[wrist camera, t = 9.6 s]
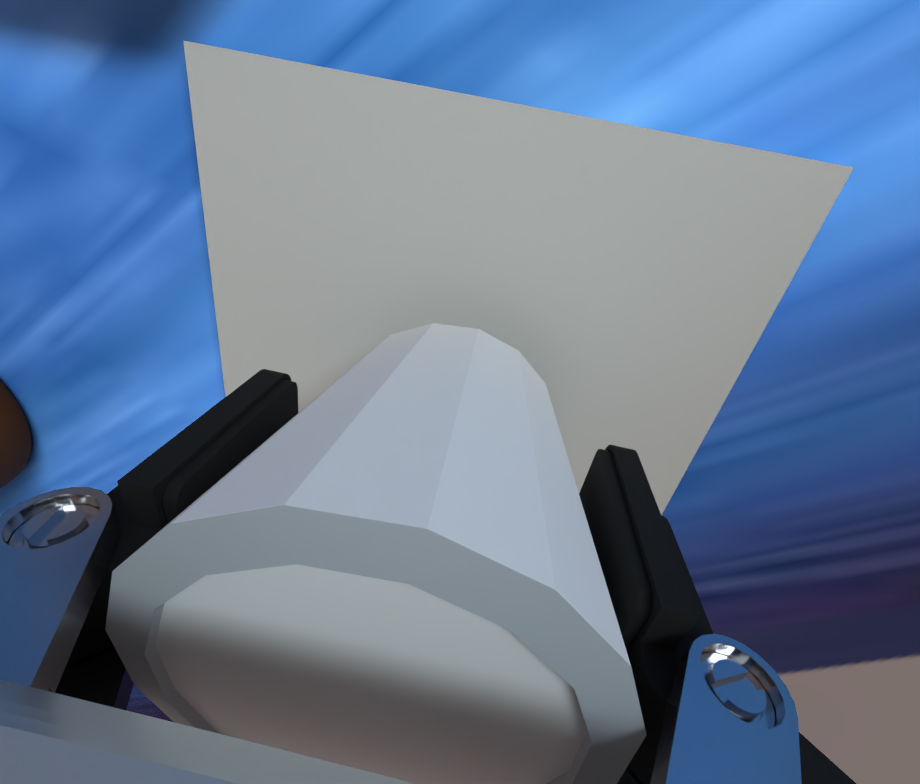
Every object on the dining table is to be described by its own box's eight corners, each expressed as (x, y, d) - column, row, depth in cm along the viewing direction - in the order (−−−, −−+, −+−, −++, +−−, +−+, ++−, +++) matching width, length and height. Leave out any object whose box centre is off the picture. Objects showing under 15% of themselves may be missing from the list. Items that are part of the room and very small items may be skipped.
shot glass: (466, 551, 14) (419, 864, 8) (283, 426, 12) (43, 687, 6) (638, 418, 11) (791, 763, 5) (420, 233, 9) (216, 370, 3)
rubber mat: (841, 167, 9) (853, 167, 9) (611, 593, 17) (613, 602, 16) (195, 44, 10) (183, 40, 10) (245, 508, 17) (239, 515, 17)
